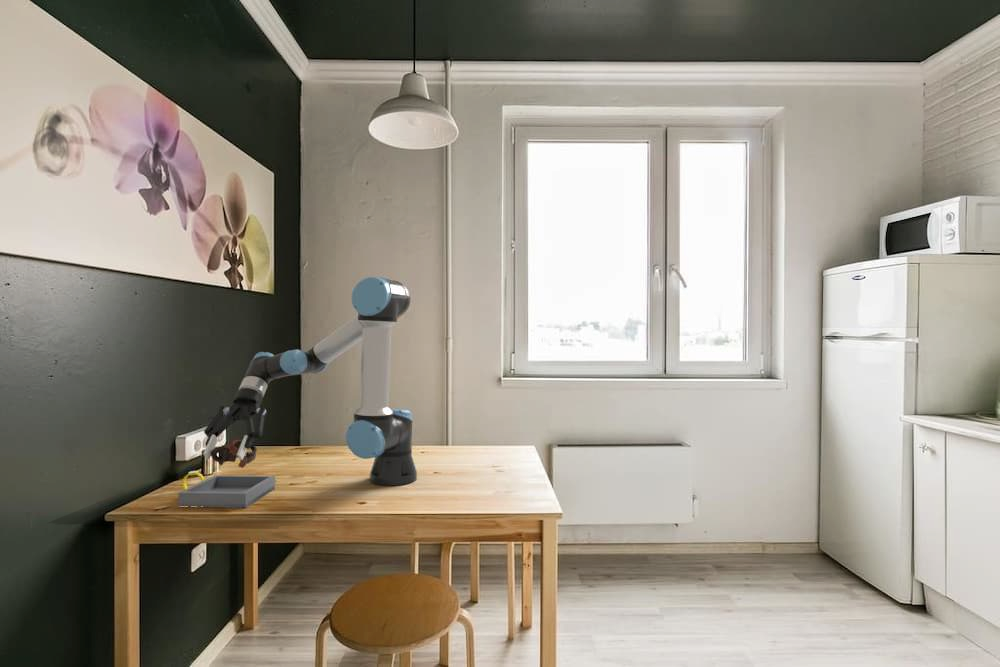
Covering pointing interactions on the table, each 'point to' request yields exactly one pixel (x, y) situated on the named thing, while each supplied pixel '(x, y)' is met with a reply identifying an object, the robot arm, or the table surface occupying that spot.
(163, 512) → the table surface
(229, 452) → the broken clay jug
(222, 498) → the tray
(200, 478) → the watch
